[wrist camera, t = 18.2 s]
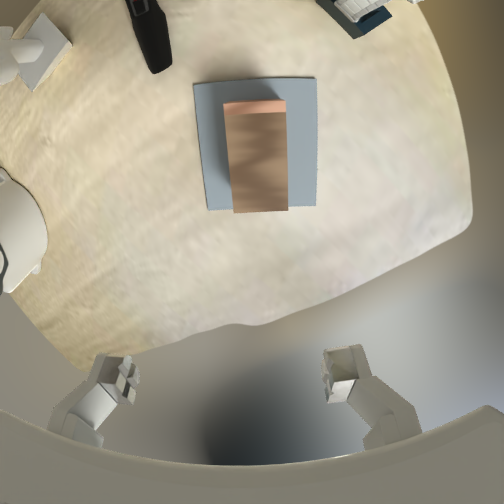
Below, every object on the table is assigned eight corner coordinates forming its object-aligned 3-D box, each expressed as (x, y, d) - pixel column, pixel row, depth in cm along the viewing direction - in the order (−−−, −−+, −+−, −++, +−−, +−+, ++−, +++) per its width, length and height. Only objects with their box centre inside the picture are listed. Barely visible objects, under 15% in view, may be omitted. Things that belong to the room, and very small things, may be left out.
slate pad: (208, 209, 31) (208, 210, 31) (194, 85, 23) (193, 85, 23) (315, 204, 31) (315, 205, 30) (315, 79, 23) (316, 79, 23)
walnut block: (233, 213, 26) (223, 104, 20) (236, 193, 30) (228, 101, 24) (288, 210, 25) (285, 100, 20) (283, 191, 29) (280, 98, 24)
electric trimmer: (150, 80, 23) (139, 80, 21) (122, -25, 15) (110, -32, 12) (183, 67, 23) (175, 66, 20) (152, -38, 14) (143, -48, 12)
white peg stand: (56, 10, 16) (-32, 4, 3) (91, 47, 20) (-8, 46, 7) (24, 55, 18) (-63, 70, 6) (54, 94, 22) (-41, 122, 10)
